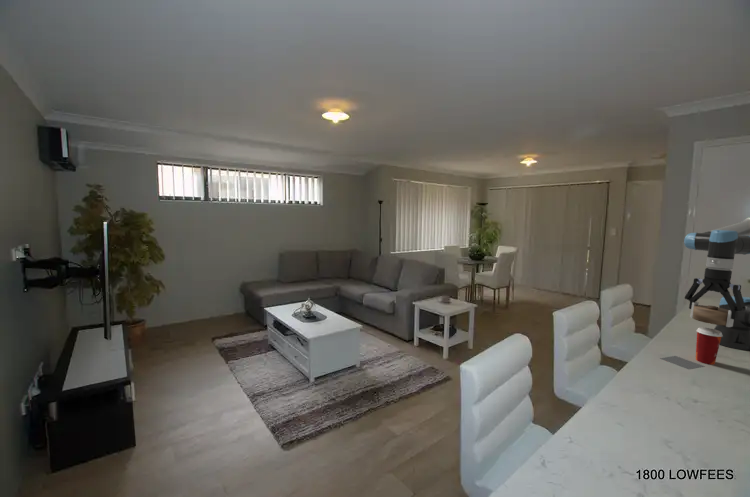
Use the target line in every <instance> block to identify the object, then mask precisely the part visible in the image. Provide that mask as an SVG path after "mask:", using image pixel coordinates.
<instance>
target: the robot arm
mask: <svg viewBox="0 0 750 497" xmlns="http://www.w3.org/2000/svg"><path fill="white" fill-rule="evenodd" d="M683 241H684V247H685V248H686V249H689V250H694V251H705V252H707V256H706V262H705V266H706V268H705V269H704V275H703V276H704V277H703V279H702V278H700V277H699V278H698V277H696V278H693V282H692V285H691V287H690V288H689V289H688V291H687V292H686V293H685V294H686V295H685V296H684V299H685V300H688V301H689V303H688V304H689V306H688V309H689V310H690V315H689V318H691V319H693V310H694V306H695V305H699V302H698V300H699V299H701V297H703V296H704V295H705V294H706V293H707V292H715V293H719V294H721V296H722V297H721V298H720V299H719V300H720V301H719V304H718V308H723V309H727V310H728V317H727V323H726V325H715V327H714V328H713V329H715V330H718V331H720V332H721V333H722V335H723V336H722V337H721V340H720V345H721V346H724V347H727V348H732V349H736V350H744V351H750V297H749V296H748V297H747V296H743V294H742V291H741V289H742V285H741V284H735V283H731V281H732V280H731V279H732V273H733V271H732V269H733V267H734V261H735V260H734V259H735V255H750V217H747V218H744V219H743V220H742V221H740V222H737V223H733V224H729V225H726V226H722V227H718V228H714V229H712V230H709V231H705V232H690V233H687V234H686V236H685V237H684V240H683ZM702 283H703V285H704V286H703V287H701V289H700V290H699V291H698V289H699V287H700V285H702ZM729 288H731V290H732V295H731V292H730V291H729ZM720 345H719V346H720Z"/></svg>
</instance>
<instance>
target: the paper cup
mask: <svg viewBox="0 0 750 497" xmlns="http://www.w3.org/2000/svg"><path fill="white" fill-rule="evenodd" d="M695 331H696V343H695V344H696V345H695V360H696V361H697V362H699V363H702V364H706V365H716V360H717V356H718V352H719V349H720V340H721V337H722V336H723V335H722V333H721V332H720V331H718V330H715V329H714V328H709V327H704V326H703V327H702V326H700V327H698V328H697V329H696V330H695Z"/></svg>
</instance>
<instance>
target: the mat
mask: <svg viewBox="0 0 750 497" xmlns="http://www.w3.org/2000/svg"><path fill="white" fill-rule="evenodd" d="M659 359H660V360H663V361H665V362H668V363H671V364H673V365H676V366H679V367H681V368H684V369H686V370H692V369H698V368H704V367H705V366H704V365H702V364H700V363H697V362H694V361H691V360H689V359H686V358H682V357H680V356H677V355H672V356H667V357H660V358H659Z"/></svg>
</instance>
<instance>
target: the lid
mask: <svg viewBox="0 0 750 497" xmlns="http://www.w3.org/2000/svg"><path fill="white" fill-rule="evenodd" d="M727 317H728V310H727V309H723V308H719V306H715V305H701V304H698V305H695V306H694V310H693V318H692V319H693V320H695V321H697V322H702V323H705V324H708V325H709V324H711V325H715V326H716V325H726V323H727Z"/></svg>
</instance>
